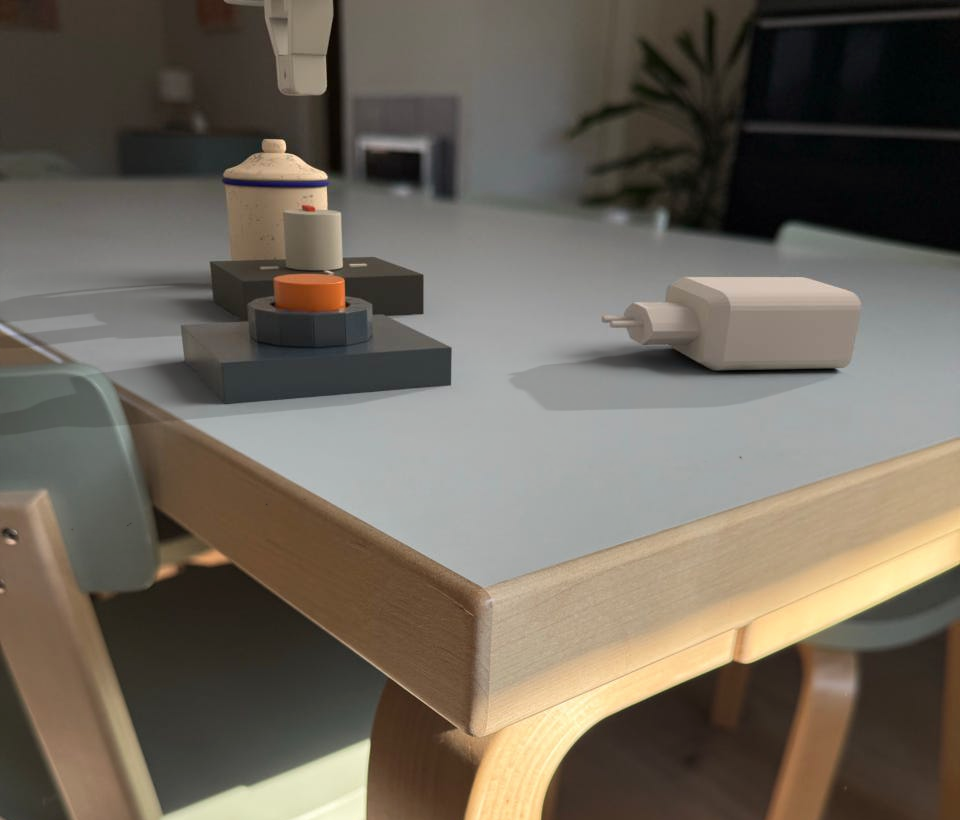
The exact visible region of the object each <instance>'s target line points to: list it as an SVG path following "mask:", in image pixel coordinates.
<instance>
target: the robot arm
mask: <svg viewBox="0 0 960 820" xmlns="http://www.w3.org/2000/svg"><path fill="white" fill-rule="evenodd" d="M223 2H225V3H226V4H230V5H238V6H247V7H248V6H249V7H263V8H264V9H263V10H264V20H265V24H266V28H267V31H268V34H269V38H270V42H271V46H272V50H273V53H274V56H275V63H276V64H275V66H276V78H277V88H278V90H279V92H280V93H281V94H282V95H285V96H297V97H298V96H301V97H305V96H306V97H307V96H321V95H323V94H324V93H326V91H327V87H328V84H327V83H328V80H327V58H326V57H327V53H328V47H329V43H330V42H329V41H330V36H331V30H332V26H333V25H332V23H333V19H334V0H223Z"/></svg>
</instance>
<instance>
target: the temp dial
mask: <svg viewBox="0 0 960 820" xmlns="http://www.w3.org/2000/svg"><path fill="white" fill-rule="evenodd" d="M283 223H284V240H285V256H286V267H288V268H290V269H296V270H307V271H326V270H336V269H340V268H342V267H343V258H344V257H343V233H342V231H343V229H342V212H340V211H338V210H332V209H328V210H318V209H315V207H312V206H310V205H302V209H295V210H285V211H283Z"/></svg>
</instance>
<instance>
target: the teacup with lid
mask: <svg viewBox="0 0 960 820" xmlns="http://www.w3.org/2000/svg"><path fill="white" fill-rule="evenodd" d="M261 148H262V149H261V150H262V151H263V152H257V153H254V154H252V155H250V156H248V157H247V158H246V159H245V160H244V161H242V162H241V163H240V164H238V165H236V166H233V167H230V168H227V169H225V170H224V172H223V174H222V179H221V182H222V183H223V184H224V186H225V197H226V198H225V199H226V209H227V221H228V223H227V224H228V233H229V234H228V235H229V246H230V247H229V248H230V257H231V261H241V260H277V259H286V256H285V240H284V223H283V211H285V210H295V209H302V205H310V206H312V207H315V209H318V210H329V209H328V207H329V206H328V187H327V186H329V185H330V181H329V180H328V177H329V176H328V174H327V173H326V172H325V171H323V170H320V169H318V168H316V167H313V166H311V165H310V164H308V163H306V162H305V161H304V160H303V159H302V158H300V157H299V156H297V155H295V154H294V153H293V154H292V153H287V152H286V151H287V145H286V141H285V140H284V139H278V138H277V139H275V138H273V139H272V138H264V139H263V140H262V142H261Z"/></svg>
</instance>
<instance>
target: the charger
mask: <svg viewBox="0 0 960 820" xmlns="http://www.w3.org/2000/svg"><path fill="white" fill-rule="evenodd" d="M861 313H862V303H861V300H860V298H859V296H858V295H857V294H856V293H854V292H853V291H850V290H848V289H844V288H841V287H837V286H835V285H832V284H829V283H828V284H827V283H824V282H821V281H818V280H814V279H812V278H808V277H803V276H783V277H782V276H681V277H679V278H678V279H676V280H674V281H673V282H671V283H670V284H669V285H667V287H666V292H665V300H664V301H651V302H650V301H638V302H636V301H633V302H632V303H631V304H630V305H629V306H628V307H626V308H625V310H624V312H623V315H602V317H601V322H602V323H603V324H604V323H605V324H607V323H609V327H610V328H613V329H615V328H616V329H617V328H619V329H620V328H621V329H622V328H623V329H624V328H625V329H626V331H627V334H628V337H629V339H631V340H633V341H634V342H636V343H637V344H639V345H641V346H666V345H667V346H669V347H671V348H672V349H674V350H676V351H677V352H679V353H680V354H682V355H685V356H686V357H688V358H690V359H692V360H693V361H695V362H696V363H698V364H700V365H702V366H703V367H706V368H708V369H709V370H711V371H752V370H753V371H761V370H762V371H764V370H766V371H767V370H807V369H808V370H815V369H817V370H818V369H819V370H820V369H822V370H823V369H844V368H846V367H849V365H850V364H851V361H852V358H853V353H854V348H855V343H856V339H857V332H858V327H859V323H860V318H861Z"/></svg>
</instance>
